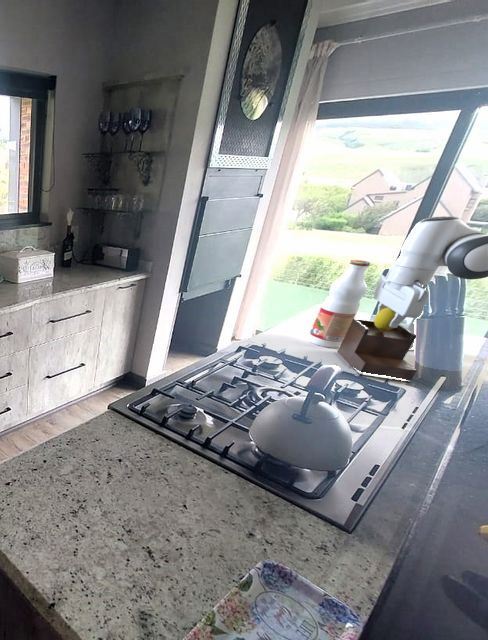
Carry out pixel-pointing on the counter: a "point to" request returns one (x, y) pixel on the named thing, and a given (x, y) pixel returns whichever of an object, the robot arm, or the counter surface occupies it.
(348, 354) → the brown stepped wooden block
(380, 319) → the lemon
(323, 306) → the fruit juice
